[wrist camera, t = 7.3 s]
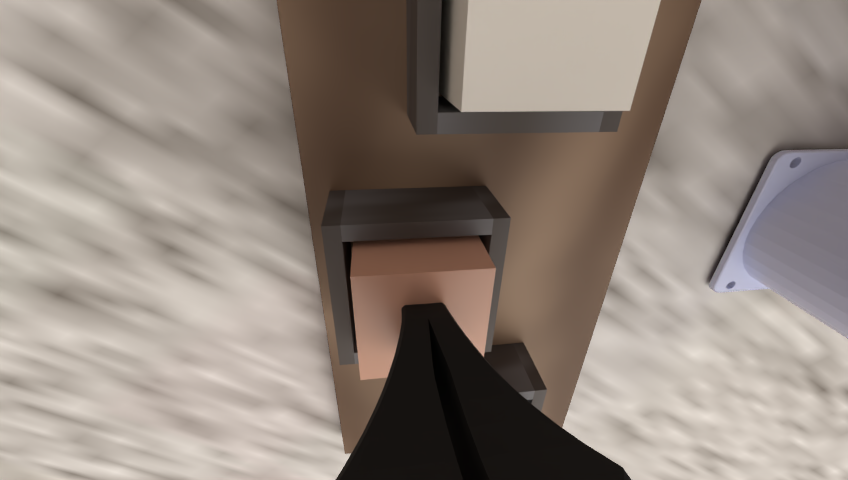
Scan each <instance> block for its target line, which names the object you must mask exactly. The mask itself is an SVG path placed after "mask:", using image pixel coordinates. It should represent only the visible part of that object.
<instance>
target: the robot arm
mask: <svg viewBox="0 0 848 480" xmlns="http://www.w3.org/2000/svg"><path fill="white" fill-rule="evenodd" d="M709 287H710V288H711V289H712V290H713V291H715V292H731V291H745V290H758V289H771V290H773V291H774V292H776V293H777V294H779V295H781V296H782V297H784V298H785V299H787V300H788V301H790V302H791V303H793V304H795V305H796V306H798V307H799V308H801V309H802V310H804V311H806V312H807V313H809V314H810V315H812V316H813V317H815V318H816V319H818V320H820V321H821V322H823V323H824V324H826V325H827V326H829V327H831V328H832V329H834V330H835V331H837V332H838V333H840V334H841V335H843V336H845V337H846V338H848V149H816V150H783V151H779V152H778V153H776V154H775V155H773V156H772V158H771V159H770V161H769V163H768V165H767V167H766V169H765V171H764V173H763V175H762V177H761V179H760V181H759V183H758V185H757V187H756V189H755V191H754V193H753V195H752V197H751V199H750V201H749V203H748V205H747V207H746V209H745V211H744V214H743V216H742V218H741V220H740V222H739V224H738V226H737V228H736V230H735V232H734V234H733V236H732V238H731V240H730V242H729V244H728V246H727V248H726V250H725V252H724V254H723V256H722V258H721V260H720V262H719V264H718V266H717V269H716V271H715V273H714V275H713V277H712V279H711V281H710V283H709ZM401 313H402V322H401V329H400V335H399V339H398V343H397V347H396V352H395V355H394V359H393V362H392V365H391V368H390V371H389V374H388V377H387V380H386V382H385V385H384V388H383V390H382V393H381V395H380V397H379V400H378V402H377V404H376V407H375V409H374V411H373V413H372V415H371V417H370V419H369V422H368V424H367V426H366V428H365V430H364V432H363V434H362V435H361V437H360V439H359V441H358V443H357V444H356V446H355V448H354V450H353V452H352V453H351V455H350V457H349V459H348V460H347V462H346V464H345V466H344V467H343V469H342V471H341V472H340V474H339V475H338V477H337V479H336V480H631V479H630V477H629V476H628V475H627V473H626V472H625V470H624V469H623V467H621V466H619V465H618V464H616V463H615V462H613V461H611V460H610V459H608V458H607V457H605V456H603V455H602V454H600V453H599V452H597V451H595V450H594V449H592V448H591V447H589V446H587V445H586V444H584V443H583V442H581V441H580V440H578V439H577V438H575V437H574V436H573V435H571V434H570V433H568V432H567V431H566V430H564V429H563V428H561V427H560V426H559V425H557V424H556V423H555V422H554V421H552V420H551V419H550V418H549V417H547V416H546V415H545V414H543V413H542V412H541V411H540V410H538V409H537V408H536V407H535V406H533V405H532V404H531V403H530V402H529V401H528V400H527V399H525V398H524V397H523V396H522V395H521V394H520V393H519V392H517V391H516V390H515V389H514V388H513V387H512V386H511V385H510V384H509V383H508V382H507V381H506V380H505V379H504V378H503V377H502V376H501V375H500V374H499V373H498V372H497V371H496V370H495V369H494V368H493V367H492V366H491V364H490V363H489V362H488V361H487V360H486V359H485V358H484V357H483V355H482V354H481V353H480V352H479V351H478V350H477V348H476V347H475V346H474V345H473V343H472V342H471V341H470V340H469V338H468V337H467V336H466V335H465V333H464V332H463V331H462V329H461V328H460V326H459V325H458V324H457V322H456V321H455V319H454V318H453V316H452V315H451V313H450V312H449V310H448V309H447V307H446V305H445V304H443V303H442V302H441V303H427V304H413V305H404V306H403V307H402V308H401Z"/></svg>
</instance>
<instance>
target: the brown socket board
mask: <svg viewBox="0 0 848 480" xmlns="http://www.w3.org/2000/svg"><path fill="white" fill-rule="evenodd" d="M700 3H701V0H661V2H660V5H659V9H658V12H657V16H656V19H655V23H654V27H653V30H652V34H651V37H650V41H649V44H648V48H647V52H646V55H645V59H644V62H643V66H642V69H641V73H640V77H639V80H638V84H637V87H636V91H635V94H634V98H633V101H632V105H631V109H630V111H528V112H461V111H460V110H458V109H457V108H456V107H455V106H454V105H453V104H451V103H450V102H449V101H448V100H447V99H446V98H444V97H443V96H442V95H441V94H440V93H439V67H440V38H441V9H442V0H277V6H278V13H279V19H280V26H281V33H282V39H283V46H284V53H285V59H286V66H287V72H288V79H289V86H290V92H291V99H292V106H293V112H294V119H295V125H296V132H297V139H298V145H299V152H300V159H301V165H302V172H303V178H304V185H305V192H306V198H307V205H308V212H309V218H310V225H311V231H312V238H313V245H314V251H315V258H316V265H317V271H318V278H319V284H320V291H321V298H322V304H323V311H324V318H325V324H326V331H327V337H328V344H329V351H330V357H331V364H332V371H333V377H334V384H335V390H336V397H337V404H338V410H339V417H340V424H341V430H342V437H343V443H344V450H345V454H347V453H352V452H353V450H354V448H355V446H356V444H357V443H358V441H359V439H360V437H361V435H362V434H363V432H364V430H365V428H366V426H367V424H368V422H369V419H370V417H371V415H372V413H373V411H374V409H375V407H376V404H377V402H378V400H379V397H380V395H381V393H382V390H383V388H384V385H385V382H386V380H387V378H377V379H367V380H360V371H359V361H358V351H357V341H356V331H355V321H354V311H353V300H352V290H351V280H350V273H351V259H352V246H353V241H371V240H392V239H412V238H433V237H453V236H474V235H478V236H479V238H480V239H481V241H482V243H483V245H484V247H485V249H486V251H487V252H488V254H489V256H490V258H491V260H492V262H493V264H494V265H495V267H496V272H495V279H494V287H493V294H492V301H491V309H490V316H489V323H488V331H487V338H486V345H485V353H484V358H485V359H486V360H487V361H488V362H489V363H490V364H491V366H492V367H493V368H494V369H495V370H496V371H497V372H498V373H499V374H500V375H501V376H502V377H503V378H504V379H505V380H506V381H507V382H508V383H509V384H510V385H511V386H512V387H513V388H514V389H515V390H516V391H517V392H519V393H520V394H521V395H522V396H523V397H524V398H525V399H527V400H528V401H529V402H530V403H531V404H532V405H533V406H535V407H536V408H537V409H538V410H540V411H541V412H542V413H543V414H545V415H546V416H547V417H549V418H550V419H551V420H552V421H554V422H555V423H556V424H557V425H559V426H560V427H561V428H562V426H563V423H564V420H565V417H566V414H567V411H568V408H569V405H570V402H571V399H572V396H573V393H574V390H575V387H576V383H577V380H578V377H579V374H580V371H581V368H582V365H583V362H584V359H585V356H586V353H587V350H588V347H589V344H590V341H591V337H592V334H593V331H594V328H595V325H596V322H597V319H598V316H599V313H600V310H601V307H602V304H603V301H604V298H605V295H606V291H607V288H608V285H609V282H610V279H611V276H612V273H613V270H614V267H615V264H616V261H617V258H618V255H619V252H620V248H621V245H622V242H623V239H624V236H625V233H626V230H627V227H628V224H629V221H630V218H631V215H632V212H633V209H634V206H635V202H636V199H637V196H638V193H639V190H640V187H641V184H642V181H643V178H644V175H645V172H646V169H647V166H648V163H649V160H650V156H651V153H652V150H653V147H654V144H655V141H656V138H657V135H658V132H659V129H660V126H661V123H662V120H663V117H664V114H665V110H666V107H667V104H668V101H669V98H670V95H671V92H672V89H673V86H674V83H675V80H676V77H677V74H678V71H679V68H680V64H681V61H682V58H683V55H684V52H685V49H686V46H687V43H688V40H689V37H690V34H691V31H692V28H693V25H694V22H695V18H696V15H697V12H698V9H699V6H700Z"/></svg>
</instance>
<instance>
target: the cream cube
mask: <svg viewBox="0 0 848 480" xmlns="http://www.w3.org/2000/svg"><path fill="white" fill-rule="evenodd" d="M660 2H661V0H442V9H441V38H440V67H439V93H440V94H441V95H442V96H443V97H444V98H446V99H447V100H448V101H449V102H450V103H451V104H453V105H454V106H455V107H456V108H457V109H458V110H460V111H461V112H528V111H630V109H631V105H632V101H633V98H634V94H635V91H636V87H637V84H638V80H639V77H640V73H641V69H642V66H643V62H644V59H645V55H646V52H647V48H648V44H649V41H650V37H651V34H652V30H653V27H654V23H655V19H656V16H657V12H658V9H659V5H660Z"/></svg>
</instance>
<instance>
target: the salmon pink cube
mask: <svg viewBox="0 0 848 480" xmlns="http://www.w3.org/2000/svg"><path fill="white" fill-rule="evenodd" d="M495 272H496V267H495V265H494V264H493V262H492V260H491V258H490V256H489V254H488V252H487V251H486V249H485V247H484V245H483V243H482V241H481V239H480V238H479V236H478V235H474V236H453V237H433V238H412V239H392V240H371V241H353V246H352V259H351V273H350V280H351V290H352V300H353V311H354V321H355V331H356V341H357V351H358V361H359V371H360V380H367V379H377V378H387V377H388V374H389V371H390V368H391V365H392V362H393V359H394V355H395V352H396V347H397V343H398V339H399V335H400V329H401V322H402V313H401V308H402V307H403V306H404V305H413V304H427V303H441V302H442V303H443V304H445V305H446V307H447V309H448V310H449V312H450V313H451V315H452V316H453V318H454V319H455V321H456V322H457V324H458V325H459V326H460V328H461V329H462V331H463V332H464V333H465V335H466V336H467V337H468V338H469V340H470V341H471V342H472V343H473V345H474V346H475V347H476V348H477V350H478V351H479V352H480V353H481V354H482V355H483V357H484V353H485V345H486V338H487V331H488V323H489V316H490V309H491V301H492V294H493V287H494V279H495Z"/></svg>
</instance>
